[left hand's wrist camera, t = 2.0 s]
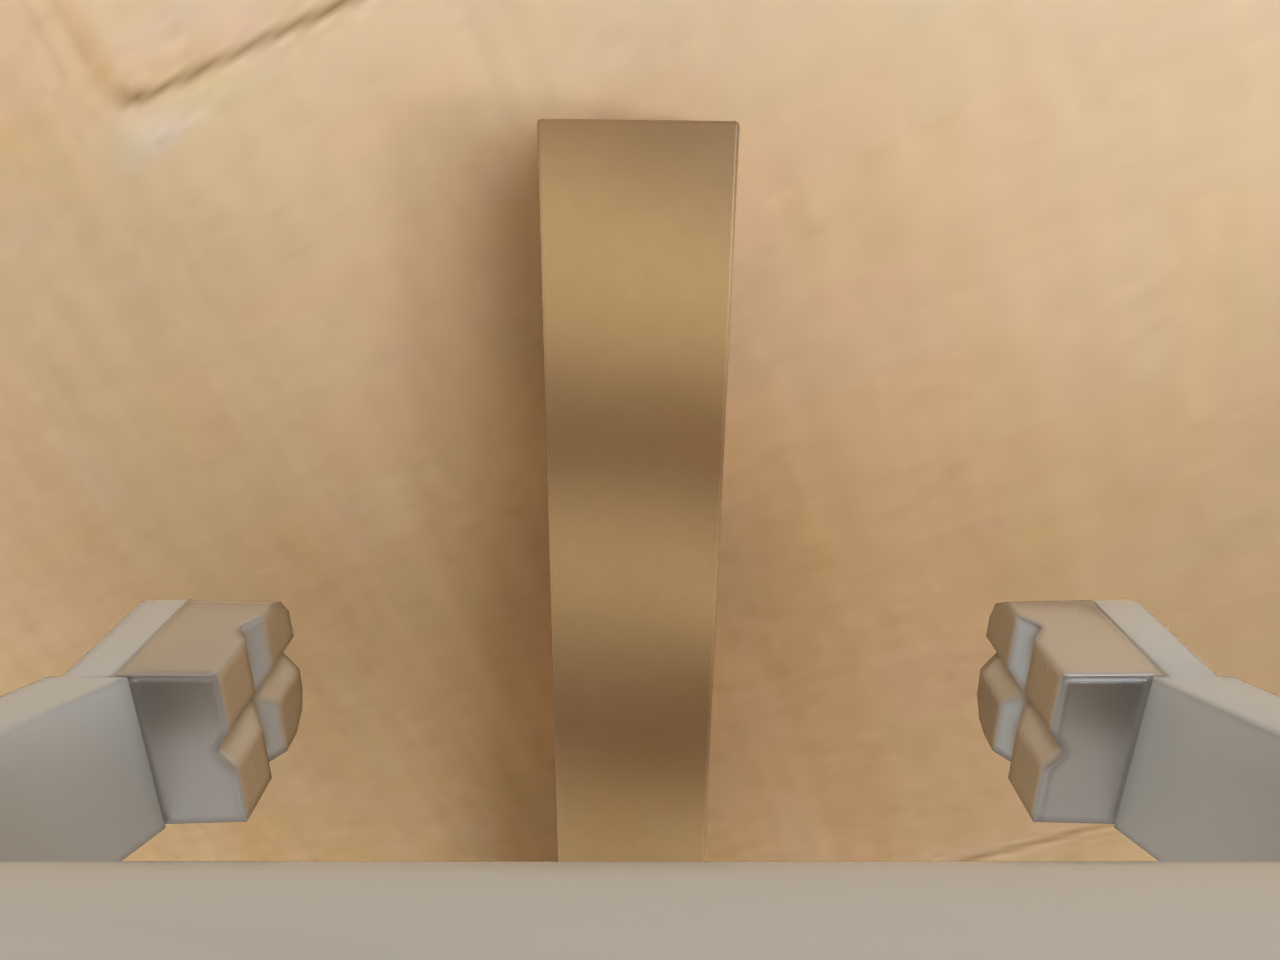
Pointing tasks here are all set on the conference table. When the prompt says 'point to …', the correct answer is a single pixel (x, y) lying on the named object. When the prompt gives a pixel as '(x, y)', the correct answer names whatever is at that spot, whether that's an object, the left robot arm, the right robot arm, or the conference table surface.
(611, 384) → the beam
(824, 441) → the conference table surface
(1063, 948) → the left robot arm
